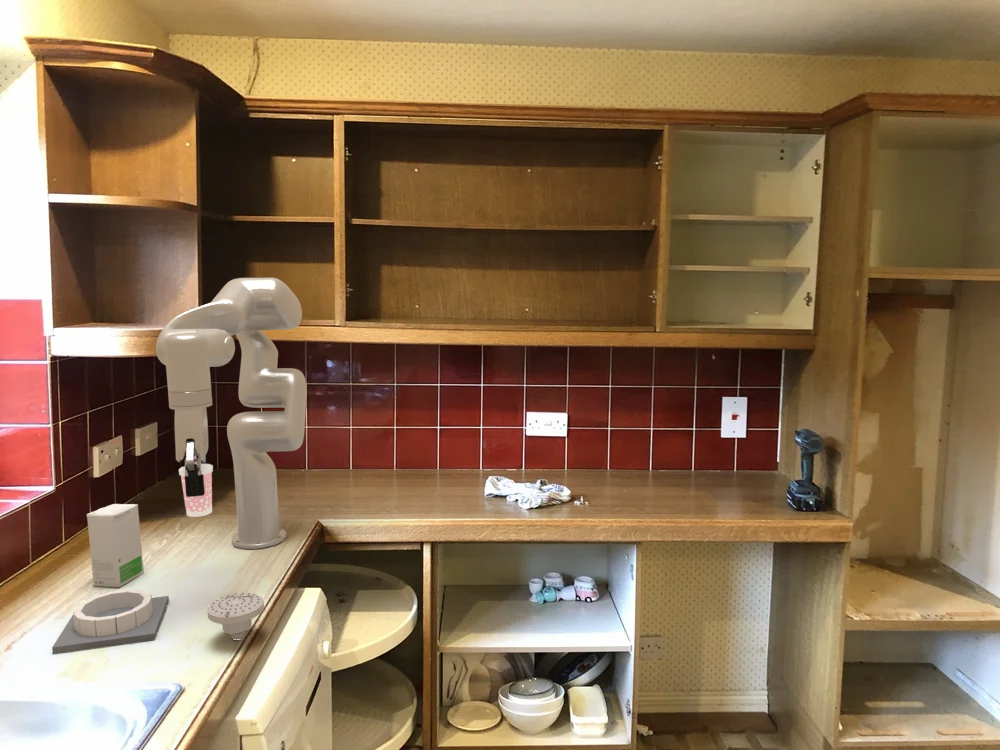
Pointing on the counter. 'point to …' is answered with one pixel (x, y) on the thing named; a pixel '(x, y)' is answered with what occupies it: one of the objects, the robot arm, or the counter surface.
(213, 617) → the showerhead
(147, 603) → the ring holder
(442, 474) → the counter surface
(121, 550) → the skincare box
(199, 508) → the beverage cup
